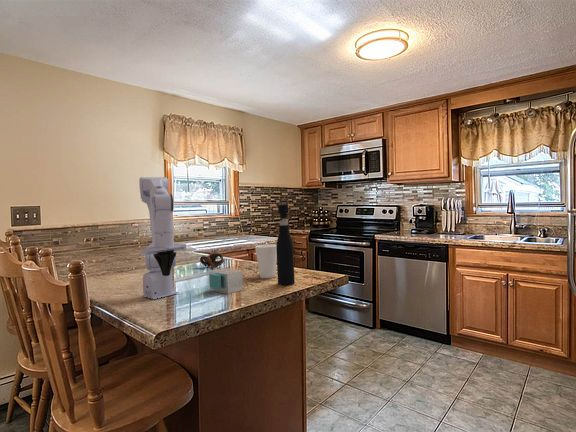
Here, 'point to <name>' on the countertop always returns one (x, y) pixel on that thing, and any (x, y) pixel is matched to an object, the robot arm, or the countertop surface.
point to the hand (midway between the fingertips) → (166, 275)
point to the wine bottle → (284, 250)
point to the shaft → (215, 281)
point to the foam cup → (266, 260)
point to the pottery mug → (212, 260)
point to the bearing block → (229, 280)
